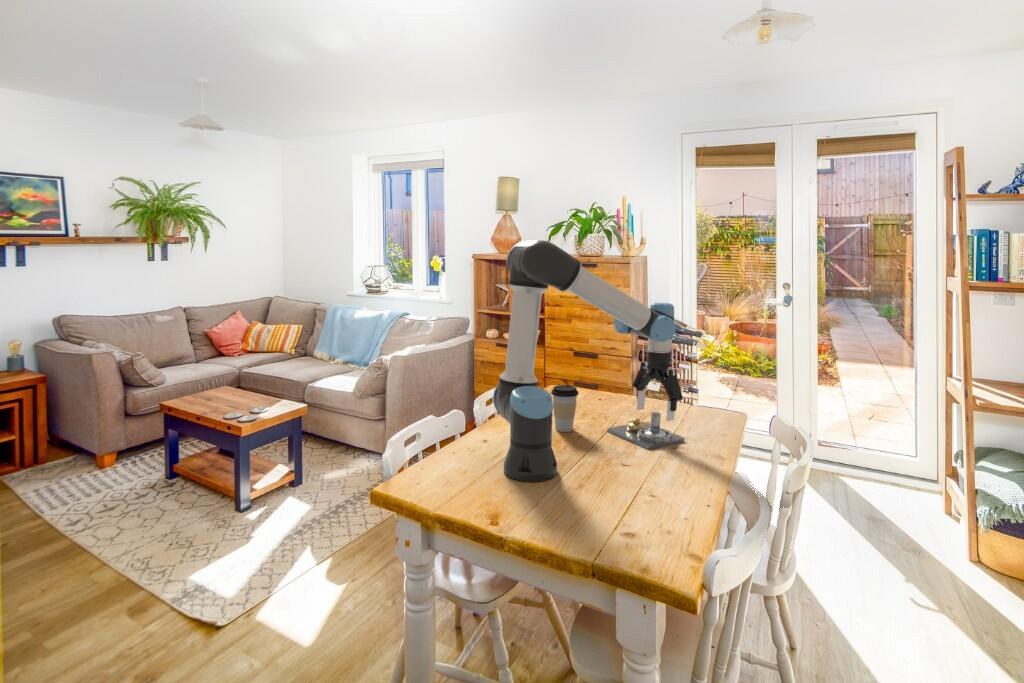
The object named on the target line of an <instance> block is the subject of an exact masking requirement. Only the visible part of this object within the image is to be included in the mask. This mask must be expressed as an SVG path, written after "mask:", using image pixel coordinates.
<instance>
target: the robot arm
mask: <svg viewBox="0 0 1024 683" xmlns="http://www.w3.org/2000/svg"><path fill="white" fill-rule="evenodd" d="M505 261H506V268H507V270H508V272H509V274H508V275H509V277H508V286H509V288H510V290H512V298H511V309H510V320H509V327H508V328H509V329H508V338H507V339H508V340H507V347H506V349H507V350H506V356H505V357H506V359H505V368H504V371H503V372H502V373H501V374H499V377H498V378H499V379H498V385H496V387H495V389H494V390H493V395H492V402H493V405H494V408H495V409H496V412H497V413H498V414H499V415H500V416H501V417H502V418H503V419H504V420H506V422H507V423H508V424H509V425H510V430H509V432H510V434H509V435H510V436H509V438H510V439H509V447H508V451H507V454H506V456H505V460H504V461H503V473H504V475H506V476H507V478H510V479H513V480H515V481H520V482H526V483H527V482H528V483H532V482H533V483H536V482H544V481H548V480H550V479H553V478H554V477H555V476H557V473H558V463H557V460H556V456H555V453H554V450H553V447H552V446H553V445H552V439H553V438H552V436H553V433H552V432H553V413H554V409H553V395H552V394H551V392H550V391H548V390H547V389H545V388H543V387H538V380H539V379H538V378H537V377H536V375H535V373H534V371H535V363H536V354H537V352H536V351H537V343H538V334H539V325H540V316H541V307H542V299H543V298H542V297H543V295H544V293H545V292H547V291H548V290H549V286H550V287H552V288H555V289H557V290H559V291H560V292H567V291H568V292H569V293H571V294H573V295H575V296H577V297H578V298H580V299H581V300H583V301H584V302H586V303H588V304H590V305H592V306H593V307H595V308H597V309H599V311H603V312H604V313H605V314H607V315H609V316H611V317H612V318H613V325H614V329H615V331H616V332H617V333H618V334H623V335H624V334H625V335H628V334H632V335H635V336H639V337H643V338H645V339H647V352H646V361H641V362H640V368H639V369H638V371H637V374H636V376H635V379H634V381H633V383H632V387H633V388H635V390H636V410H637V411H640V410H645V400H646V392H647V390H645V389H646V386H648V384H649V383H650V382H652V380H656V381H659V382H660V383H661V384H662V387H663V389H664V390H665V393H666V394H667V397H668V398H669V400H667V405H666V406H667V407H666V420H665V421H667V422H670V421H675V416H676V415H675V414H676V413H675V412H676V411H677V407H678V401H682V400H683V399H684V398H683V397H684V396H683V393H682V391H681V387H680V383H679V379H678V377H677V376H678V373H677V372H678V371H677V368H673V369H670V364H671V361H672V353H671V351H672V346H673V336H674V335H675V332H676V324H675V305H674V304H672V303H669V302H651V304H650V306H646V305H645V304H643V303H641V302H640V301H639V300H637V299H635V298H633V297H632V296H630V295H629V294H628V293H625V292H624V291H622V290H620V289H619V288H618V287H617V286H614V285H613V284H611V283H609V282H608V281H605V280H604V279H602V278H601V277H599V276H598V275H596V274H595V273H593V272H591V271H589V270H588V269H587V268H584V267H583V265H582V261H581V260H579V259H577V258H576V257H575V256H573V255H572V254H570V253H568V252H567V251H566V250H564V249H562V248H560V247H559V246H557V245H556V244H555V243H553V242H550V241H549V240H542V239H541V240H539V239H538V240H533V239H529V240H528V239H526V240H523V241H520V242H518V243H516V244H515V245H513V246H512V247H511V248H510V249H509V250H508V254H507V256H506V260H505Z"/></svg>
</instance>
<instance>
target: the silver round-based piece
mask: <svg viewBox="0 0 1024 683" xmlns="http://www.w3.org/2000/svg"><path fill="white" fill-rule="evenodd" d="M650 414H651V415H650V425H651V427H650V429H647V430H645V431H644V434H645V435H648V436H653V437H664V436H666V433H665V432H664V431H661V430H660V428H661V417H662V416H661V415H662V414H661V413H660V412H655V411H653V412H651V413H650Z"/></svg>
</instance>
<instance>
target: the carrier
mask: <svg viewBox="0 0 1024 683" xmlns="http://www.w3.org/2000/svg"><path fill="white" fill-rule="evenodd" d="M650 427H651V423H650V424H649V423H647V422H645V421H641V418H637V417H634V418H632V420H631V421H627V423H626V424H623V425H619V426H617V425H616V426H613V427H607V432H608V433H610V434H611V435H614V436H617V437H619V438H620V439H623V440H625V441H628V442H630V443H632V444H633V445H637V446H639V447H641V448H643V449H645V450H653V449H658V448H661V447H666V446H671V445H674V444H678V443H683V441H684V442H685V437H683V436H681V435H678V434H676V433H673V432H672V431H670V430H669V429H665V428H661V427H660V430H661V431H664V432H665V433H666V436H664V437H653V436H648V435H645V434H644V431H645V430H647V429H650Z"/></svg>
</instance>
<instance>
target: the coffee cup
mask: <svg viewBox="0 0 1024 683" xmlns="http://www.w3.org/2000/svg"><path fill="white" fill-rule="evenodd" d="M552 388H553V389H552V390H551V392H550V394H551V396H552V403H553V416H554V426H555V430H556V431H557V432H561V433H570V432H572V431H573V429H574V428H573V427H574V423H575V422H574V420H575V416H576V408H577V398H578V395H579V390H578V389H577V387H576V386H574V385H568V384H559V385H555V386H553V387H552Z"/></svg>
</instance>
